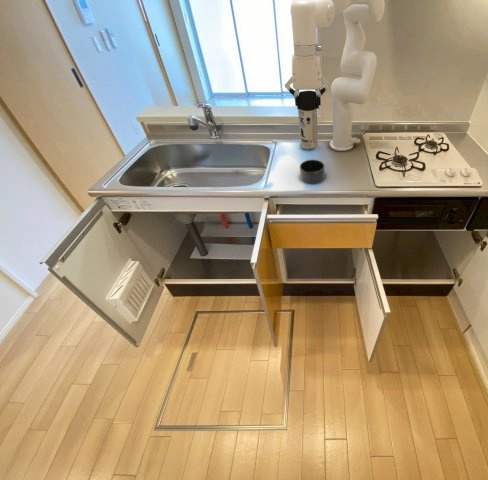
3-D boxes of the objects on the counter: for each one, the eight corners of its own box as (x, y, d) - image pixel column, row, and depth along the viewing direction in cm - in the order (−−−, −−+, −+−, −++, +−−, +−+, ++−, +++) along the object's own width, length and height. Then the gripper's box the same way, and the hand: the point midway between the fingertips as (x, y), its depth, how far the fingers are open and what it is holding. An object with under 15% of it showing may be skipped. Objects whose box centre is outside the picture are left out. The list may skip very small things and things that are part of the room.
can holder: (324, 170, 124) (324, 159, 120) (324, 183, 116) (324, 172, 112) (301, 170, 124) (300, 160, 120) (300, 184, 117) (299, 173, 113)
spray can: (299, 143, 112) (295, 91, 97) (314, 140, 113) (312, 89, 99) (305, 150, 107) (301, 97, 93) (320, 147, 109) (319, 94, 95)
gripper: (331, 47, 89) (330, 103, 102) (280, 48, 89) (286, 104, 102) (332, 52, 84) (331, 111, 97) (277, 53, 84) (284, 112, 97)
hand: (308, 107), depth 99 cm, fingers closed on spray can, 6 cm apart
